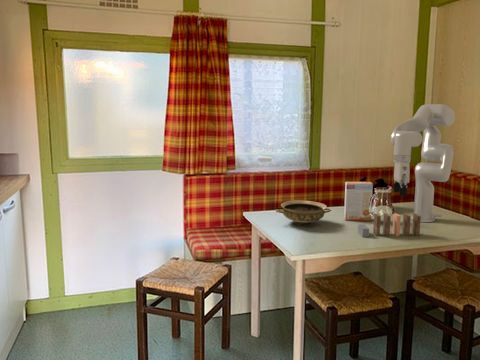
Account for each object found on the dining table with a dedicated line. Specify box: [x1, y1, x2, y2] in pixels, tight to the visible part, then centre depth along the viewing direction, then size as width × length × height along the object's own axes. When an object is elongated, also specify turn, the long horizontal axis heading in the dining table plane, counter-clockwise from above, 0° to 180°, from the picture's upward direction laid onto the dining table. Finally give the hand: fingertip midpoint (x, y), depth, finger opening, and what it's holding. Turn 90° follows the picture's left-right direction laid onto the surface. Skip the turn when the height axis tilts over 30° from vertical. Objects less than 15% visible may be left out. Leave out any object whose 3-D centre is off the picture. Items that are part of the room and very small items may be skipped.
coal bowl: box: [358, 176, 389, 195], centre depth 268 cm, size 20×20×19 cm
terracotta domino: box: [392, 212, 402, 237], centre depth 216 cm, size 2×5×10 cm, turn 0°
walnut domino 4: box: [411, 212, 421, 237], centre depth 216 cm, size 2×5×10 cm, turn 0°
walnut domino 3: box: [401, 213, 412, 237], centre depth 216 cm, size 2×5×10 cm, turn 0°
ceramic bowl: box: [275, 199, 332, 226], centre depth 236 cm, size 30×24×10 cm
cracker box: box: [343, 181, 374, 222], centre depth 243 cm, size 14×6×21 cm, turn 84°
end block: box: [357, 223, 370, 238], centre depth 217 cm, size 3×8×4 cm, turn 1°
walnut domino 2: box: [382, 212, 392, 237], centre depth 216 cm, size 2×5×10 cm, turn 1°
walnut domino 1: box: [372, 212, 382, 237], centre depth 216 cm, size 2×5×10 cm, turn 1°
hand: (399, 193), depth 214 cm, fingers open, 9 cm apart
